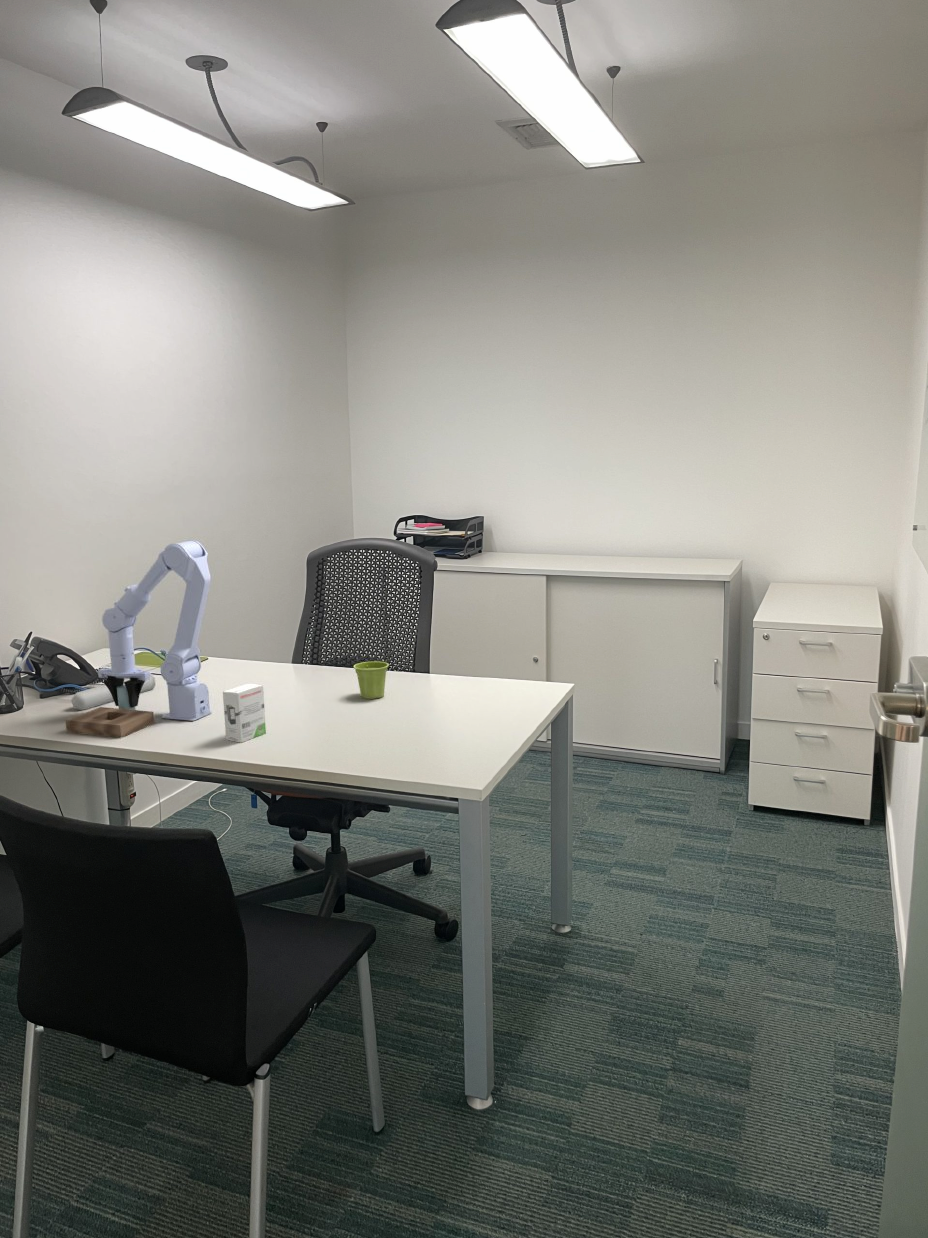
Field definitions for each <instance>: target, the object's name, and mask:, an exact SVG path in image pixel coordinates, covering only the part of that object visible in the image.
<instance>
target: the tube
mask: <svg viewBox="0 0 928 1238" xmlns="http://www.w3.org/2000/svg"><path fill="white" fill-rule="evenodd" d="M128 680H130V679H124V682H125V681H128ZM124 685H125V684H124ZM155 687H156V677H155V676H154V675H153V674H152V673H151V672H150V679H149V680H146V681H145V682H144V684H143V686H142V689H141V692H140V694H142V693H146V692H149V691H153V690H154V689H155ZM70 701H71V703H72V706H73V708H74V709H75V710H77V711H85V710H89V709H90V710H91V709H92V708H97V707H100V706H103V705H105V704H109V703H112V702H114V700H113V697H112V695H111V693H110V691H109V689H108V688H107V686H106V685H105V684H102V685H99V686H95V687H91V688H88V689H85V690H81V691H78V692H75V694H74V695H73V696H72V698H71V700H70Z"/></svg>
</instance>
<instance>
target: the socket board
mask: <svg viewBox="0 0 928 1238" xmlns="http://www.w3.org/2000/svg"><path fill="white" fill-rule="evenodd" d="M154 724H155V713H154V711H148V710H136V709H135V710H128V709H119V708H114V707H103V706H98V707H96V708H94V709H92V710H91V709H90V710H89V711H86V712H84V713H81V714H79V715H78V714H77V715H75V716H72V717H70V718H67V719H65V730H66V733H69V734H81V735H90V736H91V735H92V736H98V735H99V736H100V737H108V736H109V737H110V738H118V737H122V738H125V737H126V735H127V736H129V735H132V734H134V733H136V732H138V731H141V730H143V729H146V728H148V727H149V726H152V725H154ZM147 726H148V727H147ZM140 729H141V730H140ZM133 732H134V733H133ZM109 737H108V738H109Z"/></svg>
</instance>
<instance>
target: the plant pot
mask: <svg viewBox="0 0 928 1238" xmlns="http://www.w3.org/2000/svg"><path fill="white" fill-rule="evenodd" d="M388 667H389V663H387V662H384V661H365V662H364V661H363V662H359V663H356V664H354V665H353V669H354V670H355V673H356V677H357V681H358V686H359V687H358V688H359V692H360V697H361V698H363V699H365V700H374V699H377V698H380V699H381V698H383V697H384V695H385V690H386V689H385V688H386V687H385V685H386V679H387V677H386V676H387V672H388Z"/></svg>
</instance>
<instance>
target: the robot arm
mask: <svg viewBox="0 0 928 1238" xmlns="http://www.w3.org/2000/svg"><path fill="white" fill-rule="evenodd" d="M208 555H209V554H208V551H206V549H205V547H204V546H203V544H202V543H200V542H199V541H197V540H194V539H190V540H186V541H182V542H178V543H177V542H175V543H174V542H173V543H169V544H168V545H166V547H165V548H164V550H162V551H161V552H160V553H159V554H158V557H157V559H156V560H155V562H154V563H153V564H152V565H151V567H150V568H149V570H148V571H147V572H146V573H145V575H144V577H142V579H141V580H140V581H139V583H138V584H132V585H130V586H129V585H128V586H127V587H125V588H124V594H122V596H121V597H120V598H119V600H116V601H115V602H114V603H113V605H114V606H113V607H110V608H107V609H105V610H104V612H103V615H102V619H101V622H102V624H103V626H104V628H105V629H106V630H107V633H108V634H107V635H108V645H109V655H110V666H111V668H100V669H98V670H97V673H98V678H106V679H105V680H103V685H106V686H107V688H108V689H109V691H110V693H111V695H112V697H113V700H114V701H113V702H114V706H115V707H118V696H117V687H118V686H121V685H124V684H125V686H126V689H127V692H128V696H129V704H130V707H132V708H133V707H135V708H136V707H138V705H139V700H140V695H141V693H140V692H141V689H142V686H143V684H144V682H145V681H146V680H149V679H150V673H151V671H147V670H141V669H138V668H137V667H136V660H135V659H136V658H135V657H136V656H135V649H134V648H135V647H134V636H133V634H134V633H133V632H134V626H135V625H136V621H137V617H138V615H139V614H140V613H141V612H142V610H143V609H144V608H145V607H146V606H147V604H148V603H149V602H150V601H151V599H152V598H151V592H152V591H153V590H154V589H155V588H156V587H157V586H158V585H159V584H160V582H161V581H162V580H163V579H164V578H165V577H166V576H167V575H168V574H169V573H170V572H172V571H173V572H174V573H175V574H177V575H178V576H179V577H181V578H182V579H183V581H184V582H185V584H186V586H185V591H184V595H183V600H182V605H181V609H180V614H179V619H178V624H177V629H176V634H175V638H174V642H173V645H172V646H171V648H170V649H169V650H168V652H167V655H166V657H165V660H164V661H163V662H162V663H161V666H160V675H161V677H162V678H163V680H164V681H165V682H166V685H167V696H168V697H167V698H168V709H169V713H167V714H164V715H162V716H161V718H162V719H168V720H169V719H170V720H181V721H192V722H193V721H196V720H197V721H198V719H201V718H203V717H206V716H207V715H209V714H212V713H213V712H212V710H210V709H211V708H210V695H209V688H208V686H207V684H205V683H204V682H200V681H199V680H198V673H199V672H200V671H201V668H202V662H201V661H202V660H201V657H200V656H201V650H200V648H199V647H198V646H197V645H198V643H199V642H198V640H199V637H200V632H201V627H202V624H203V623H202V622H203V618H204V615H205V614H204V613H205V609H206V605H207V602H208V601H207V599H208V595H209V590H210V586H211V580H212V578H211V573H210V568H209V564H208V560H207V558H208ZM124 679H130V680H128V681H125V682H124Z"/></svg>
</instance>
